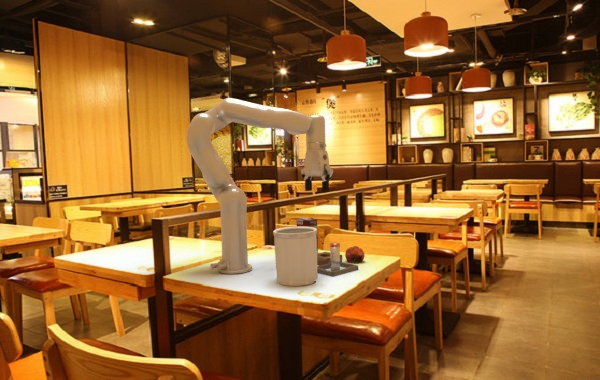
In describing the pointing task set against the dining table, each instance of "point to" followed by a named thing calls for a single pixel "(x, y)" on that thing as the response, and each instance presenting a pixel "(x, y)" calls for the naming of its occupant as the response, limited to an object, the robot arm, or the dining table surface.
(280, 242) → the utensil holder
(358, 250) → the pomegranate
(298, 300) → the dining table surface
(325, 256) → the pin block
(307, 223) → the supplement box
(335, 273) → the tray
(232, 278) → the dining table surface
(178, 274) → the dining table surface
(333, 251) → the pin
